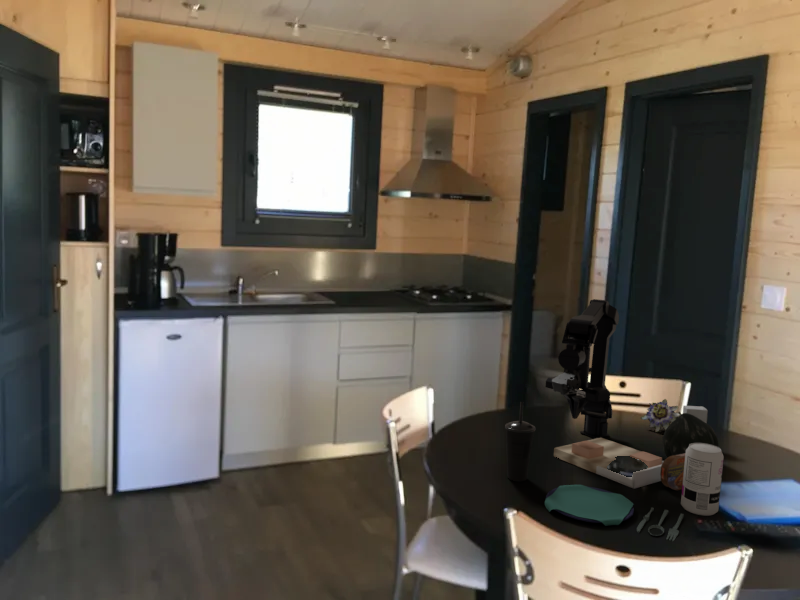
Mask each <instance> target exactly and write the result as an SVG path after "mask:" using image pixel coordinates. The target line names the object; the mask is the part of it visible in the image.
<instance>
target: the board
mask: <svg viewBox="0 0 800 600" xmlns="http://www.w3.org/2000/svg"><path fill="white" fill-rule="evenodd" d="M587 441H590V442H593V443H595V444H598V445H601V446H604V451H603V455H602V456H598V457H594V458H590V459H588V458H585V457H582V456H580V455H577V454H574V453H572V444H573V443H569V444H566V445H560V446H556V447H554V449H553V457H554V458H556V457H557V458H556V459H558V458H559V459H558V460H561V461H564V462H566V463H569V464H572V465H573V466H576V467H578V468H581V469H584V470H586V471H589V472H591V473H594V474H596V467H597V466H601V467H603V468H606V469H607V466H608V465H609V464H610V463H611V462H612V461H614V460H616V458H615V457H617V456H630V455H631V454H635V453H639V452H642V451H641V450H638V449H635V448H633V447H630V446H627V445H624V444H621V443H618V442H615V441H613V440H611V439H610V440H609V439H607V438H604V437H601V438H592V439H588V440H587Z"/></svg>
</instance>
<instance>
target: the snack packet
mask: <svg viewBox="0 0 800 600" xmlns="http://www.w3.org/2000/svg"><path fill="white" fill-rule="evenodd" d="M663 461H664V462H663V464H662V466H661V473H660V476H661V481H660V482H661V483H662V484H663V486H665V487H666V488H669V489H671V490H673V491H680V490H682V485H683V475H684V464H685V453H684V454H679V455H674V456H670V457H666V458H665V459H664V460H663Z"/></svg>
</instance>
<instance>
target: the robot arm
mask: <svg viewBox="0 0 800 600" xmlns="http://www.w3.org/2000/svg"><path fill="white" fill-rule="evenodd" d="M619 320H620V314H619V311H618V309H617V308H616V307H614V306H613V305H611V304H610V303H609V301H608V300H605V299H596V298H595V299H594V298H593V299H591V300H590V301H589V305H588V306H587V307H586V308H585V310H584V311H583V312H582V313H581V314H579V315H575V316H572V317H571V318H570V319H569V321H567V323H566V326H565V330H564V333H563V337H562V341H561V344H562V345H563V344H564V345H566V347H565V348H564V349H563V350H561V352H560V353H559V355H558V358H557V359H558V363H559V365H560V367H562V368H563V373H561V374H558V375H557V376H549V377H547V379H546V380H545V385H544V386H545V388H547V389H550V390H553V391H554V392H555V393H556V392H558V393H560V395H561V396H562V397H564V398H565V399H566V401H567V403H568V407H569V410H570V413H571V414H570V415H571V417H572V419H574V420H576V419H578V417H579V416H580V415H581V416H584V420H583V421H584V422H583V430H581V431H580V434H581V433H582V435H584V434H585V436H587V435H588V436H587V437H591V438H592V439H596V438H604V437H609V436H610V433H608V425H609V423H608V420H609V419H613V405H612V402H611V391H610V390H609V389H608V388H607V386H606V376H607V368H608V367H607V366H608V357H609V347H610V338H611V337H612V336H613V334H614V332H616V330H617V326H618V325H619V322H620V321H619ZM592 345H593V347H592ZM591 347H592V348H593V349H592V358H591ZM590 359H592V360H591V362H590ZM590 363H591V366H590ZM589 373H590V375H589ZM589 376H590V377H589Z"/></svg>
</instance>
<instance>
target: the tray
mask: <svg viewBox="0 0 800 600" xmlns="http://www.w3.org/2000/svg"><path fill="white" fill-rule="evenodd" d="M664 461H665V460H662V464H663V462H664ZM662 464H661V465H658V466H654V467H650V468H647V469H643V470H640V471H636V472H633V475H632V477H626V476H624V475H621V474H619V473H616V472H613V471H611V470H608V469H606V468H603V467H601V466H597V467H596V473H595V474H596V475H598V476H601V477H604V478H606V479H609V480H611V481H614V482H616V483H619V484H622V485H624V486H626V487H628V488H632V489H633V490H634V489H638V488H640V487H641V488H642V487H644V486H647V485H651V484H655V483H658V482H662V481H661V476H660V473H661V466H662Z"/></svg>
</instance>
